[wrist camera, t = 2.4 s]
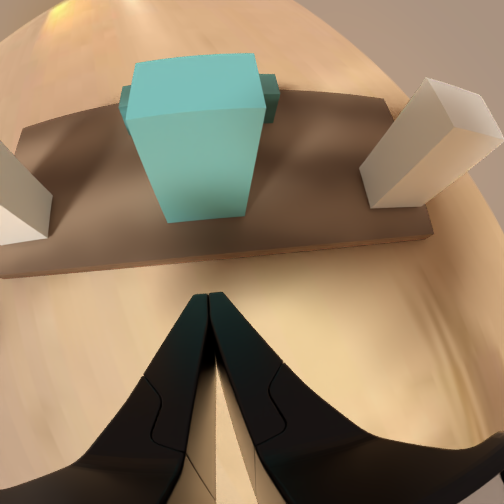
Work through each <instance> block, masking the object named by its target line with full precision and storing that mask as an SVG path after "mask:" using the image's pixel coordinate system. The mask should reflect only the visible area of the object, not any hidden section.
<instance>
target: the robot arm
mask: <svg viewBox="0 0 504 504" xmlns="http://www.w3.org/2000/svg"><path fill="white" fill-rule="evenodd" d="M216 364H217V369H218V374H219V377H220V381H221V385H222V389H223V392H224V396H225V399H226V403H227V407H228V410H229V414H230V417H231V420H232V424H233V427H234V431H235V434H236V437H237V441H238V444H239V447H240V450H241V453H242V457H243V460H244V463H245V466H246V469H247V472H248V475H249V478H250V481H251V484H252V487H253V490H254V493H255V496H256V499H257V502H258V504H504V431H499V432H497V433H495V434H493V435H492V436H491V437H489V438H488V439H486V440H485V441H483V442H482V443H481V444H479V445H477V446H475V447H471V448H467V449H459V450H452V449H442V448H435V447H428V446H422V445H416V444H410V443H405V442H399V441H394V440H389V439H385V438H381V437H378V436H375V435H373V434H371V433H368V432H367V431H365V430H363V429H361V428H360V427H359V426H357V425H356V424H354V423H353V422H352V421H350V420H349V419H348V418H346V417H345V416H344V415H343V414H341V413H340V412H339V411H337V410H336V409H335V408H334V407H332V406H331V405H330V404H328V403H327V402H326V401H325V400H323V399H322V398H321V397H320V396H319V395H317V394H316V393H315V392H314V391H313V390H312V389H310V388H309V387H308V386H307V385H306V384H305V383H304V382H303V381H302V380H301V379H300V378H299V377H298V376H297V375H296V374H295V373H294V372H293V371H292V370H291V369H290V368H289V367H288V366H287V365H286V363H283V360H282V359H281V358H280V357H279V356H278V355H277V354H276V353H275V351H274V350H273V349H272V348H271V347H270V346H269V345H268V344H267V343H266V341H265V340H264V339H263V338H262V337H261V336H260V335H259V333H258V332H257V331H256V330H255V329H254V328H253V327H252V325H251V324H250V323H249V322H248V321H247V320H246V319H245V317H244V316H243V315H242V314H241V313H240V312H239V310H238V309H237V308H236V307H235V306H234V305H233V303H232V302H231V301H230V300H229V299H228V298H227V296H226V295H225V294H224V293H223V292H216V293H210V294H209V295H208V294H195V295H193V296H192V298H191V299H190V301H189V302H188V304H187V306H186V307H185V309H184V310H183V312H182V313H181V315H180V317H179V318H178V320H177V321H176V323H175V324H174V326H173V328H172V329H171V331H170V332H169V334H168V336H167V337H166V339H165V340H164V342H163V344H162V345H161V347H160V348H159V350H158V352H157V353H156V355H155V356H154V358H153V360H152V361H151V363H150V364H149V366H148V368H147V369H146V371H145V372H144V374H143V375H144V376H142V377H141V379H140V380H139V382H138V384H137V385H136V387H135V388H134V390H133V391H132V393H131V395H130V396H129V398H128V399H127V401H126V402H125V403H124V405H123V406H122V407H121V409H120V410H119V411H118V413H117V414H116V415H115V417H114V418H113V419H112V420H111V422H110V423H109V424H108V425H107V427H106V428H105V429H104V430H103V432H102V433H101V434H100V435H99V437H98V438H97V439H96V440H95V442H94V443H93V444H92V445H91V447H90V448H89V449H88V450H87V451H86V453H85V454H84V455H83V456H82V457H81V458H79V459H78V460H77V461H76V462H74V463H73V464H71V465H69V466H67V467H65V468H62V469H60V470H58V471H55V472H53V473H50V474H47V475H45V476H42V477H40V478H37V479H34V480H31V481H29V482H26V483H23V484H20V485H17V486H14V487H11V488H7V489H3V490H0V504H216V502H215V501H216Z"/></svg>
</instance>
